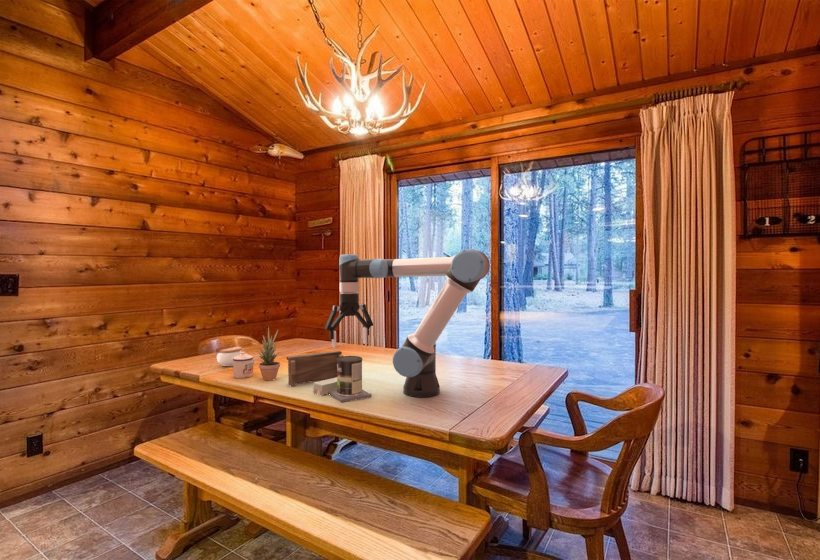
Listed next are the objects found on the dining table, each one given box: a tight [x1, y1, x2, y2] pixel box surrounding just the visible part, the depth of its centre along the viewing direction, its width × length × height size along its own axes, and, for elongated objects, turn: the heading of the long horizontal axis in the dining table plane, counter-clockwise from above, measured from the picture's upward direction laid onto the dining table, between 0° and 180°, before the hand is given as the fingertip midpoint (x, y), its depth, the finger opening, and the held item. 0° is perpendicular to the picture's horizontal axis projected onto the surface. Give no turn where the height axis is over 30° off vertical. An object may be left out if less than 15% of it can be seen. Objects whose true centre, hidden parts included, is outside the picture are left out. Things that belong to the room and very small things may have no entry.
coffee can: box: [337, 355, 363, 397], centre depth 170 cm, size 10×10×14 cm
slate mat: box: [328, 388, 372, 403], centre depth 170 cm, size 13×13×1 cm
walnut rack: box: [286, 350, 344, 388], centre depth 191 cm, size 6×25×12 cm, turn 122°
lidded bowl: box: [215, 344, 242, 367], centre depth 224 cm, size 13×13×11 cm
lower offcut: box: [312, 388, 337, 396], centre depth 176 cm, size 6×13×2 cm, turn 128°
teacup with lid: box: [232, 351, 255, 379], centre depth 202 cm, size 12×9×12 cm
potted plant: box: [258, 326, 281, 381], centre depth 195 cm, size 10×10×25 cm
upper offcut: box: [312, 377, 337, 392], centre depth 176 cm, size 6×13×2 cm, turn 137°
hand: (349, 345), depth 169 cm, fingers open, 13 cm apart
